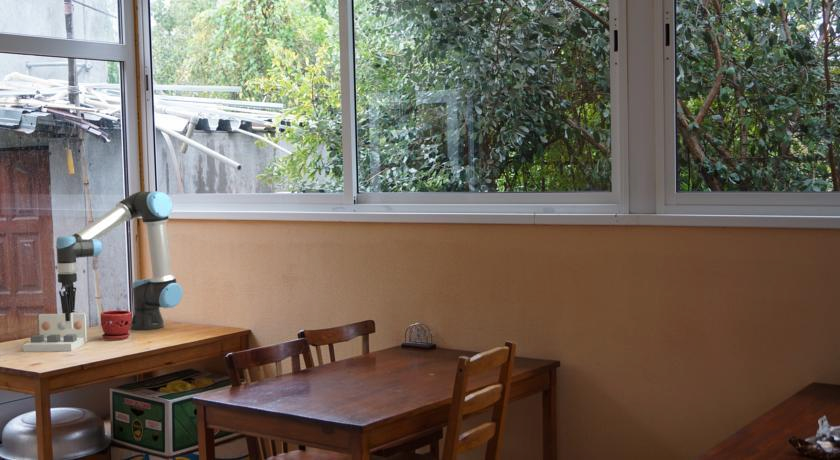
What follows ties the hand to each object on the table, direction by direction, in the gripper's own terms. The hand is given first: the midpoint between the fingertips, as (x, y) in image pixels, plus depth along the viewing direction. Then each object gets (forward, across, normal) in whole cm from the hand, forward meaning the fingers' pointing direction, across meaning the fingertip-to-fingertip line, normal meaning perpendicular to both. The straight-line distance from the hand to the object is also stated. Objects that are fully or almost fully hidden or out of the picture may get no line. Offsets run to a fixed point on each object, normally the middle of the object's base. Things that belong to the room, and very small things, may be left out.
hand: (69, 328), depth 395 cm
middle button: (+6, 0, -7) cm, 9 cm away
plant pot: (+8, -20, +13) cm, 26 cm away
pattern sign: (+8, -10, -7) cm, 15 cm away
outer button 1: (+6, 0, 0) cm, 6 cm away
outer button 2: (+6, 0, -14) cm, 15 cm away
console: (+8, 0, -7) cm, 11 cm away
